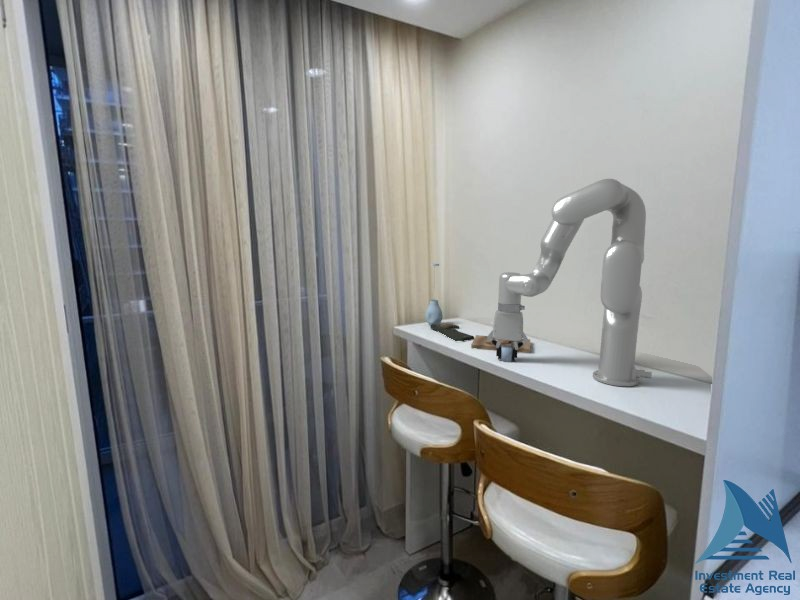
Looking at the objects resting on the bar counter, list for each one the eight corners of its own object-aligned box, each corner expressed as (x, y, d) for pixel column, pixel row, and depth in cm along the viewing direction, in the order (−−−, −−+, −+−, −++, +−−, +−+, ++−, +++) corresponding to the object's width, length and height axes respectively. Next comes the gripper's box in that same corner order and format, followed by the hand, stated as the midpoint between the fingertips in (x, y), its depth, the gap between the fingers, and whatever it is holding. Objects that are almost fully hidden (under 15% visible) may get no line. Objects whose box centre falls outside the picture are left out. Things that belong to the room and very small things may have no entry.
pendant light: (435, 322, 209) (436, 263, 204) (445, 325, 202) (447, 264, 197) (422, 324, 205) (423, 263, 200) (431, 327, 198) (433, 264, 193)
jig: (530, 342, 171) (530, 339, 171) (530, 353, 156) (530, 349, 156) (476, 338, 178) (476, 335, 178) (471, 348, 163) (471, 344, 162)
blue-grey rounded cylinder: (513, 359, 149) (513, 345, 148) (512, 362, 145) (513, 348, 144) (500, 358, 150) (501, 344, 149) (499, 361, 146) (500, 347, 145)
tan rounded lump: (509, 344, 169) (510, 332, 168) (508, 348, 163) (509, 335, 163) (494, 343, 170) (495, 331, 170) (493, 346, 165) (494, 334, 164)
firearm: (487, 335, 177) (457, 338, 171) (487, 340, 177) (456, 344, 171) (452, 322, 203) (425, 324, 197) (452, 326, 203) (424, 329, 197)
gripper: (534, 307, 145) (531, 358, 148) (485, 305, 150) (483, 354, 153) (534, 311, 138) (531, 364, 141) (483, 308, 143) (481, 359, 146)
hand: (506, 358), depth 147 cm, fingers closed on blue-grey rounded cylinder, 4 cm apart
